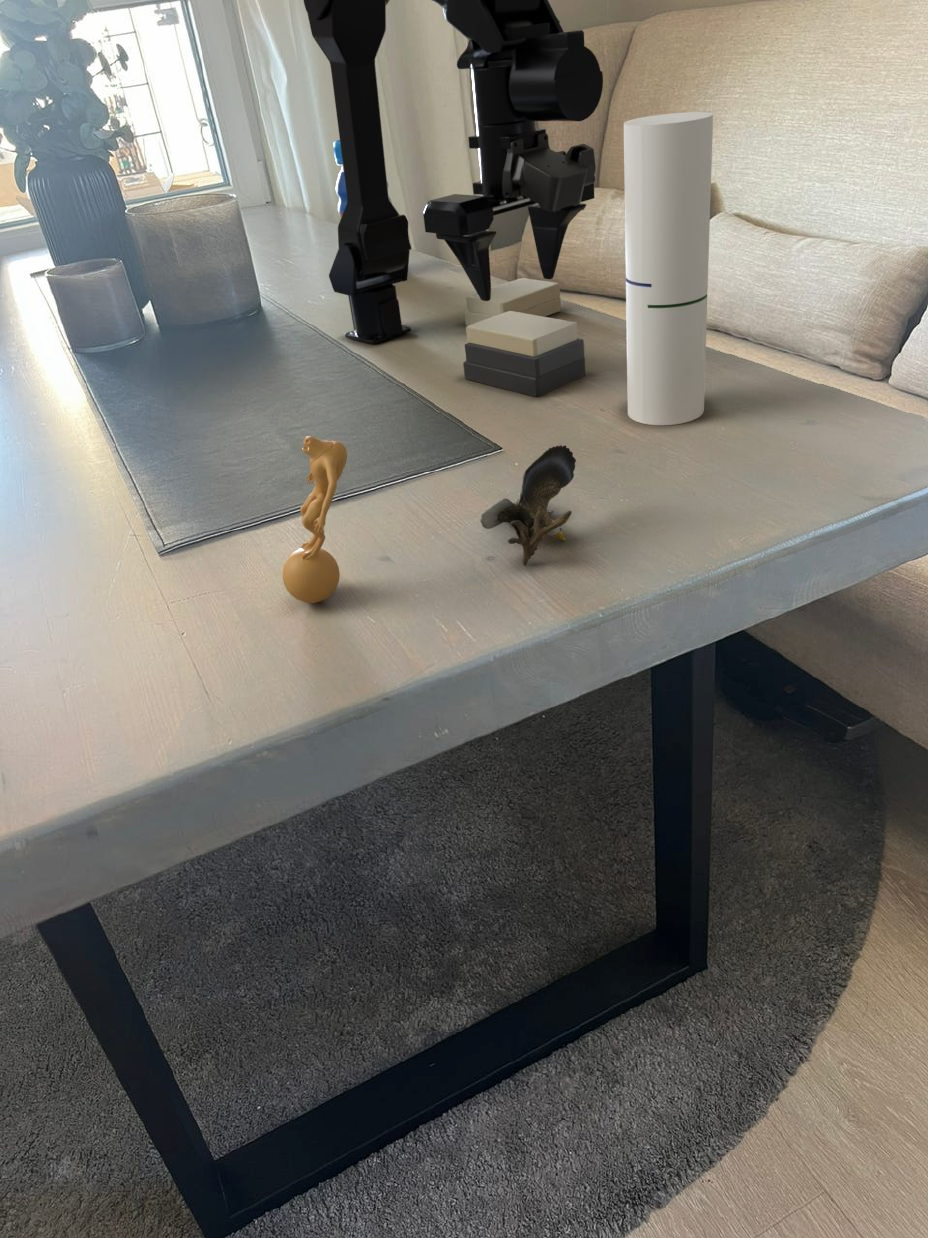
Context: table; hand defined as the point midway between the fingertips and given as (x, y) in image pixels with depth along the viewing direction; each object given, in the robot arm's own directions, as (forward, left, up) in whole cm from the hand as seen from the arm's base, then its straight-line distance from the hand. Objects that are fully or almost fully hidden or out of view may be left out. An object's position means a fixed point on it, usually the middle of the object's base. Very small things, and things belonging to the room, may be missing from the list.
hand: (517, 289), depth 98 cm
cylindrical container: (+19, 0, -10) cm, 21 cm away
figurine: (+21, -41, -10) cm, 47 cm away
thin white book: (0, 0, -5) cm, 5 cm away
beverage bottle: (-57, +23, -10) cm, 62 cm away
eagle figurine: (+27, -26, -10) cm, 39 cm away
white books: (-18, +16, -9) cm, 26 cm away
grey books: (0, 0, -9) cm, 9 cm away
